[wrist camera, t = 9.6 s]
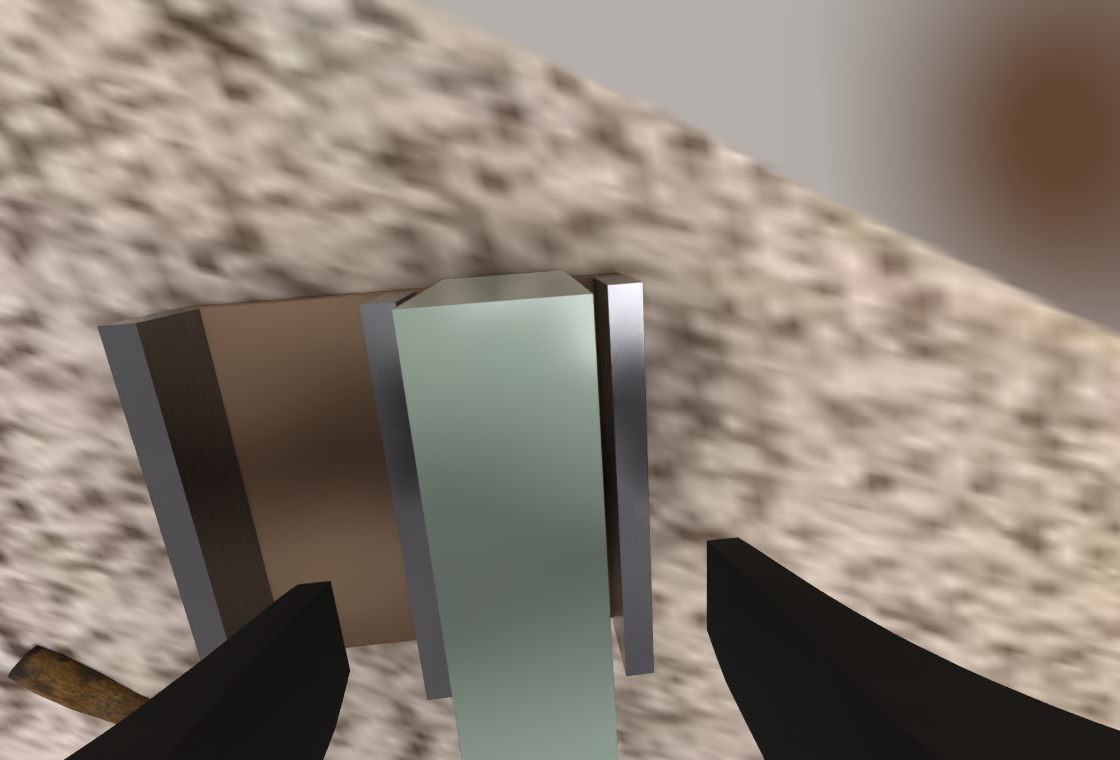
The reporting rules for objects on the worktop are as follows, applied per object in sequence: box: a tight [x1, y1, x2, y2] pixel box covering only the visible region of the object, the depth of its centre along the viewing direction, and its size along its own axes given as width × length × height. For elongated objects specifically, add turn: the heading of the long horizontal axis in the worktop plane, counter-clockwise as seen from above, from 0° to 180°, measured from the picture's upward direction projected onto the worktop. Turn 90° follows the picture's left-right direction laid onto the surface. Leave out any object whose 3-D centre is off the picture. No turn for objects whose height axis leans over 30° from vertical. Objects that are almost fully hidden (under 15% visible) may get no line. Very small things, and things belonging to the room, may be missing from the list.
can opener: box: [8, 646, 150, 724], centre depth 18 cm, size 9×2×1 cm, turn 45°
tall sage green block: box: [392, 270, 618, 760], centre depth 13 cm, size 3×10×6 cm, turn 4°
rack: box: [98, 273, 654, 700], centre depth 15 cm, size 11×12×3 cm
